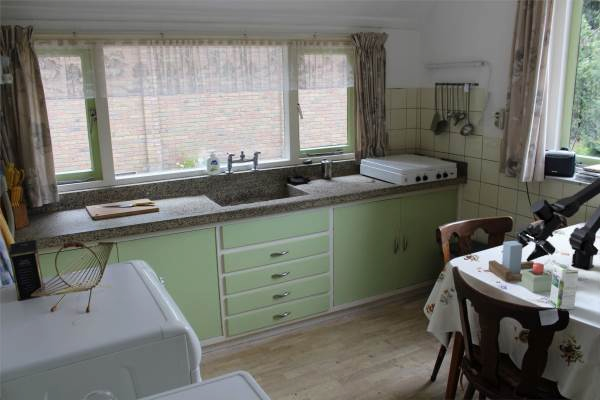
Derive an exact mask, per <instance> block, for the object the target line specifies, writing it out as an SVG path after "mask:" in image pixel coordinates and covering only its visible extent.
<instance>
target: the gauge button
mask: <svg viewBox="0 0 600 400" xmlns="http://www.w3.org/2000/svg"><path fill="white" fill-rule="evenodd" d="M532 269H533V273H535V274H543V271H544V270H545V264H543V263H539V262H534V264H533V267H532Z"/></svg>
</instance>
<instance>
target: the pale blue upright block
mask: <svg viewBox="0 0 600 400" xmlns="http://www.w3.org/2000/svg"><path fill="white" fill-rule="evenodd" d="M522 246H523V245H522V244H520V243H518V242H517V240H511V241H509V240H508V241H503V245H502V258H501V259H502V261H501V264H502V265H503V266H504V267H506V268H507V269H509V270H511V271H512V274H521V273H522V271H521V269H522V268H521V262H522V257H523V249H522Z"/></svg>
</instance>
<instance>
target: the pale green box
mask: <svg viewBox="0 0 600 400" xmlns="http://www.w3.org/2000/svg"><path fill="white" fill-rule="evenodd" d="M547 271H548V270H546V269H544V271H543V274H535V273H533V268H531V269H523V270H522V271H521V273H522V280H521V282H520V283H521V286H522V287H524V288H525V289H526V290H528V291H529V292H531V293H532V294H533V293H542V292H551V285H552V276H553V273H552V272H551V273H549V272H547Z"/></svg>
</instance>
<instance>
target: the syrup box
mask: <svg viewBox="0 0 600 400" xmlns="http://www.w3.org/2000/svg"><path fill="white" fill-rule="evenodd" d="M552 274H553V276H552V285H551V291H550V296H549V297H550V298H549V305H551V306H552V307H553V308H555V307H556V308H564V309H571V310H574V309H575V303H576V296H577V295H576V293H577V286H578V285H577V284H578V276H579V269H578V268H576V267H573V266H571V265H570V264H569V263H558V264H553V269H552ZM556 308H555V309H556Z"/></svg>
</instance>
